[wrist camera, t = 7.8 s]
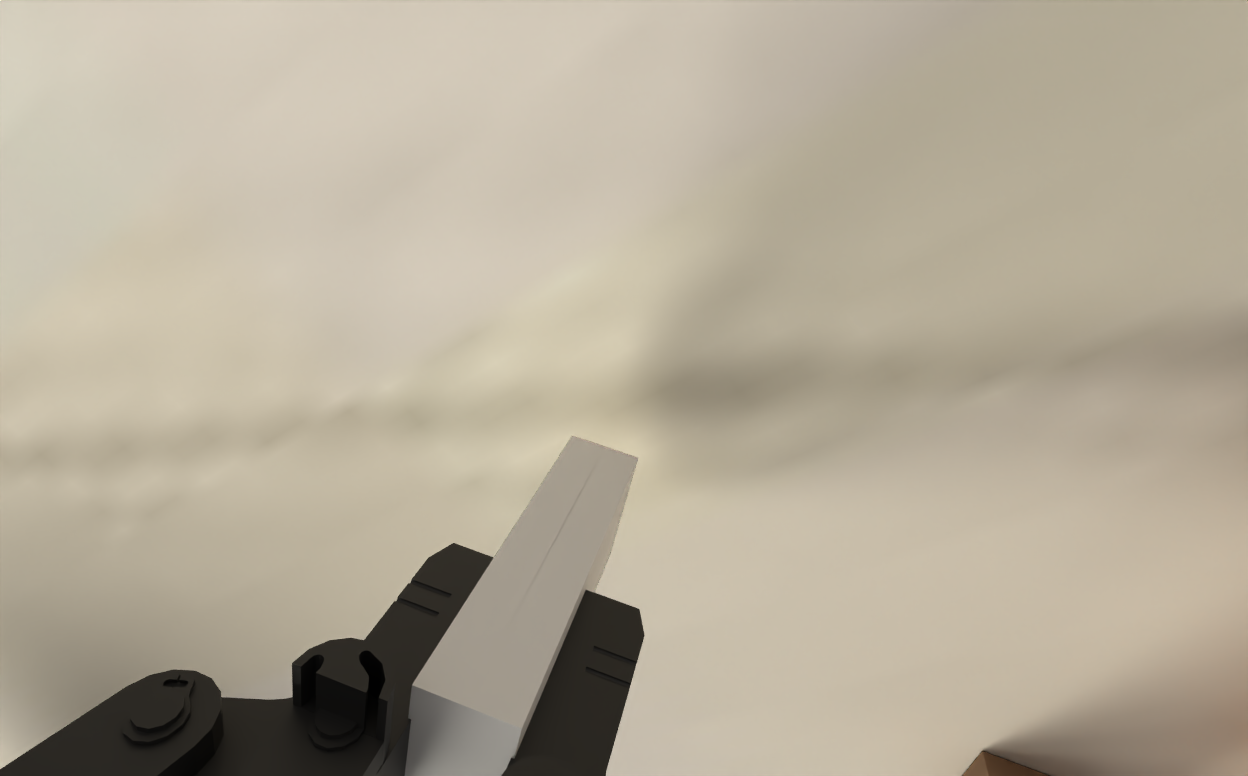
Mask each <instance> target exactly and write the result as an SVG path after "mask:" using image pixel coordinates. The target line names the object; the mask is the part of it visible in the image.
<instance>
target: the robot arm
mask: <svg viewBox="0 0 1248 776" xmlns="http://www.w3.org/2000/svg"><path fill="white" fill-rule="evenodd" d="M637 461H638V458H637V457H634V456H631V455H628V454H625V453H623V452H620V451H617V450H614V449H611V448H608V447H605V446H602V445H599V444H596V443H593V442H590V441H587V440H584V439H581V438H578V437H575V436H572V437H571V438H570V440H569V441H568V443H567V445H566V446H565V448H564V449H563V451H562V452H561V454H560V455H559V457H558V459H557V460H556V462H555V463H554V465H553V466H552V468H551V469H550V471H549V473H548V474H547V476H546V477H545V479H544V480H543V482H542V483H541V485H540V487H539V488H538V490H537V491H536V493H535V494H534V496H533V497H532V499H531V501H530V502H529V504H528V505H527V507H526V508H525V510H524V511H523V513H522V515H521V516H520V518H519V519H518V521H517V522H516V524H515V525H514V527H513V529H512V530H511V532H510V533H509V535H508V536H507V538H506V539H505V541H504V543H503V544H502V546H501V547H500V549H499V550H498V552H497V553H496V555H495V557H494V558H493V557H490V556H488V555H485V554H482V553H479V552H477V551H474V550H471V549H469V548H466V547H463V546H460V545H458V544H455V543H453V544H451V545H449V546H448V547H446V548H444V549H442V550H441V551H439V552H437V553H436V554H434V555H432V556H431V557H429V558H428V559H427V560H426V562H425V563H424V564H423V565H422V567H421V568H420V569H419V571H418V572H417V573H416V574H415V576H414V577H413V578H412V581H411V583H410V584H409V583H408V585H407V586H406V587H405V589H404V590H403V591H402V592H401V594H400V595H399V596H398V599H397V601H396V602H395V601H394V603H393V604H392V605H391V607H390V608H389V609H388V610H387V612H386V613H385V614H384V616H383V617H382V618H381V619H380V621H379V622H378V623H377V625H376V626H375V627H374V628H373V630H372V631H371V632H370V633H369V635H368V636H367V637H366V639H365V640H359V639H354V638H346V639H338V640H330V641H327V642H325V643H322V644H320V645H318V646H315V647H313V648H311V649H309V650H307V651H306V652H305V653H304V654H303V655H301V656H300V657H299V658H298V659H297V660H295V661H294V662H293V663H292V683H293V697H292V698H288V699H276V700H262V699H242V698H222V697H221V691H220V690H219V689H218V687H217V686H216V684H215V683H214V681H213V680H212V678H209V677H207V676H205V675H203V674H201V673H199V672H197V671H188V670H170V671H166V672H161V673H157V674H153V675H149V676H147V677H145V678H143V679H141V680H139V681H137V682H135V683H133V684H131V685H129V686H127V687H125V688H124V689H122V690H121V691H119V692H118V693H116V694H115V695H113V696H112V697H110V698H109V699H107V700H105V701H104V702H102V703H101V704H99V705H98V706H96V707H95V708H93V709H92V710H90V711H89V712H87V713H86V714H84V715H83V716H81V717H80V718H78V719H76V720H75V721H73V722H72V723H70V724H69V725H67V726H66V727H64V728H63V729H61V730H60V731H58V732H57V733H55V734H54V735H52V736H51V737H49V738H47V739H46V740H44V741H43V742H41V743H40V744H38V745H37V746H35V747H34V748H32V749H31V750H29V751H28V752H26V753H25V754H23V755H21V756H20V757H18V758H17V759H15V760H14V761H12V762H11V763H9V764H8V765H6V766H5V767H3V768H2V769H0V776H606V770H607V766H608V763H609V759H610V756H611V752H612V748H613V745H614V741H615V738H616V734H617V731H618V727H619V724H620V720H621V717H622V713H623V710H624V706H625V702H626V699H627V695H628V692H629V688H630V685H631V681H632V678H633V674H634V671H635V666H636V663H637V660H638V656H639V653H640V649H641V646H642V642H643V639H644V631H643V626H642V621H641V615H640V610H639V609H637V608H635V607H632V606H629V605H626V604H624V603H621V602H618V601H616V600H613V599H610V598H607V597H605V596H602V595H599V594H596V593H595V590H596V588H597V585H598V583H599V580H600V578H601V575H602V573H603V570H604V568H605V565H606V563H607V560H608V558H609V556H610V553H611V550H612V546H613V543H614V540H615V536H616V533H617V529H618V526H619V522H620V519H621V516H622V512H623V509H624V505H625V502H626V498H627V495H628V492H629V488H630V485H631V481H632V478H633V474H634V471H635V468H636V464H637Z"/></svg>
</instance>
